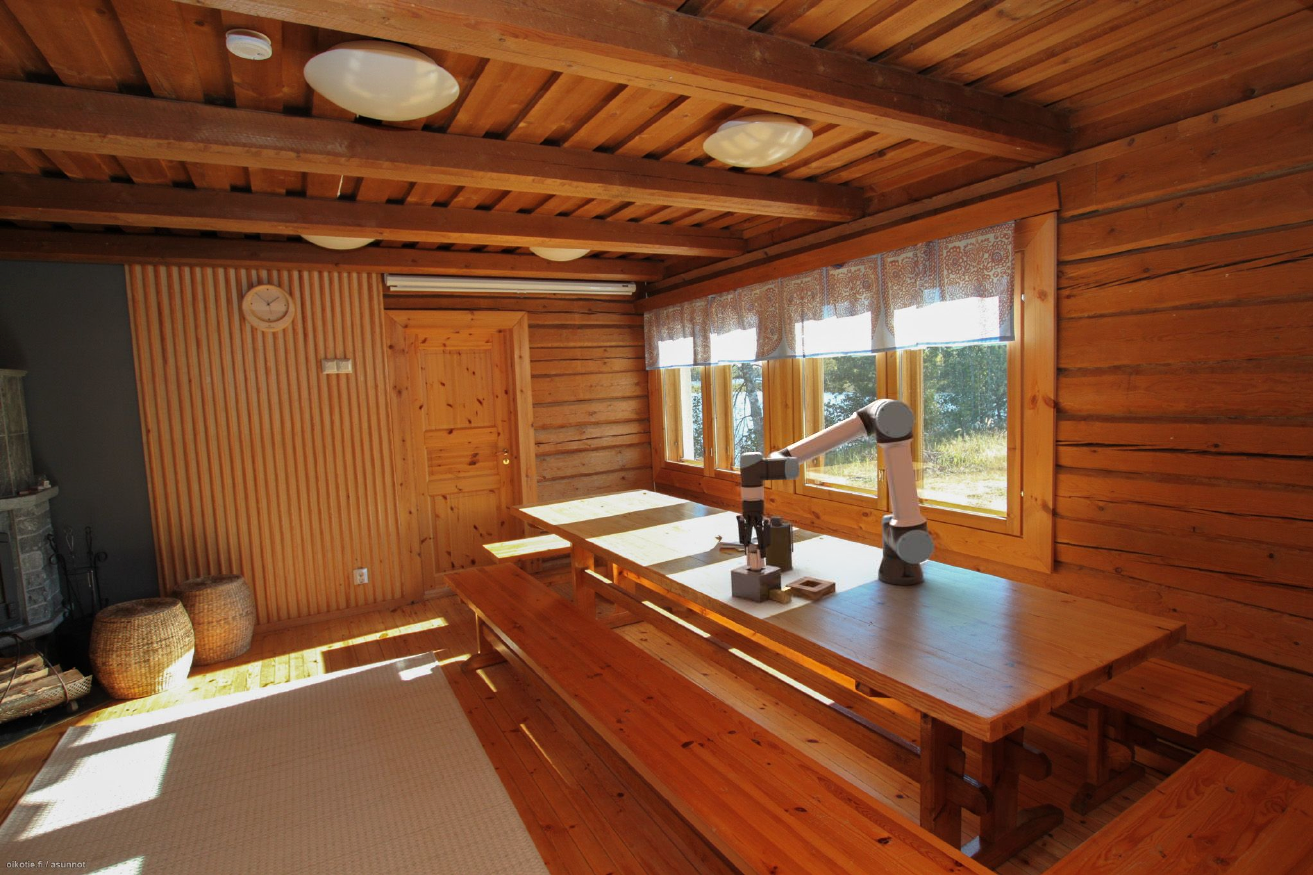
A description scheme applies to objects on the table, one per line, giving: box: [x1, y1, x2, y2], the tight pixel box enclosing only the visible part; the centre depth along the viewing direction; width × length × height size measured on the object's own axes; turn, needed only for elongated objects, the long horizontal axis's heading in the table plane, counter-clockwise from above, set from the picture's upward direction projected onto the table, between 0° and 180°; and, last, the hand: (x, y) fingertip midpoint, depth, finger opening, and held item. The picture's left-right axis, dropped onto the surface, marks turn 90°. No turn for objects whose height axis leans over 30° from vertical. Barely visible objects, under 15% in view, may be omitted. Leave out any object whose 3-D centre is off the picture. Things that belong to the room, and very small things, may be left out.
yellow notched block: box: [768, 586, 792, 605], centre depth 227 cm, size 12×4×4 cm, turn 44°
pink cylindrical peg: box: [749, 541, 762, 572], centre depth 231 cm, size 4×4×14 cm
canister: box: [764, 515, 794, 573], centre depth 261 cm, size 11×10×20 cm
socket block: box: [730, 564, 782, 604], centre depth 232 cm, size 12×12×9 cm
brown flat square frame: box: [784, 576, 836, 602], centre depth 232 cm, size 12×12×3 cm
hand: (755, 565), depth 231 cm, fingers closed on pink cylindrical peg, 4 cm apart
